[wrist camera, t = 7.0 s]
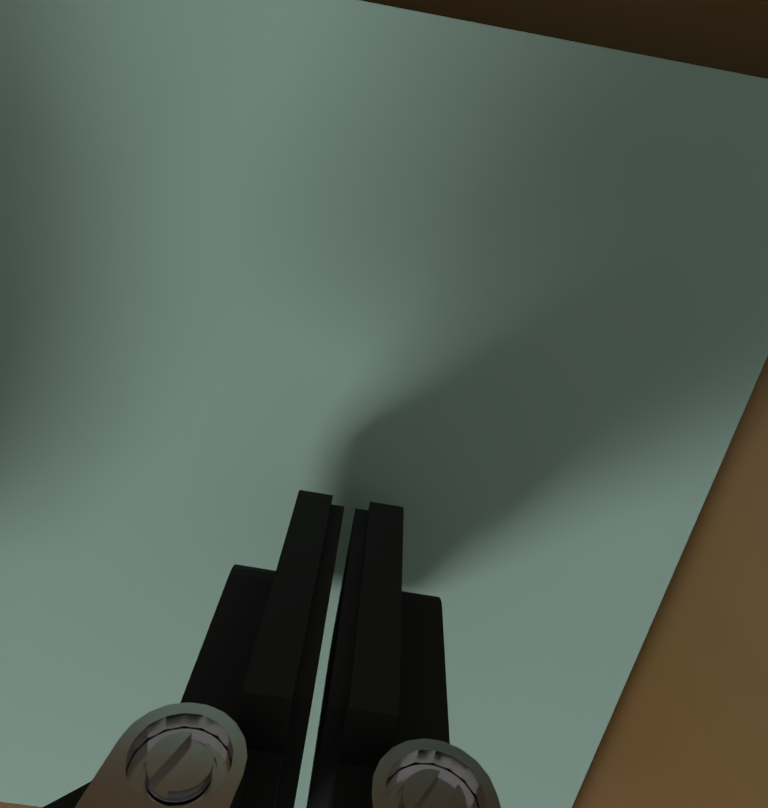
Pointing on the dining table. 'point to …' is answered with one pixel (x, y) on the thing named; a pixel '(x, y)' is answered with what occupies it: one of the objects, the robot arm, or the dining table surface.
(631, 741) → the dining table surface
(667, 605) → the dining table surface
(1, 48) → the pitch
